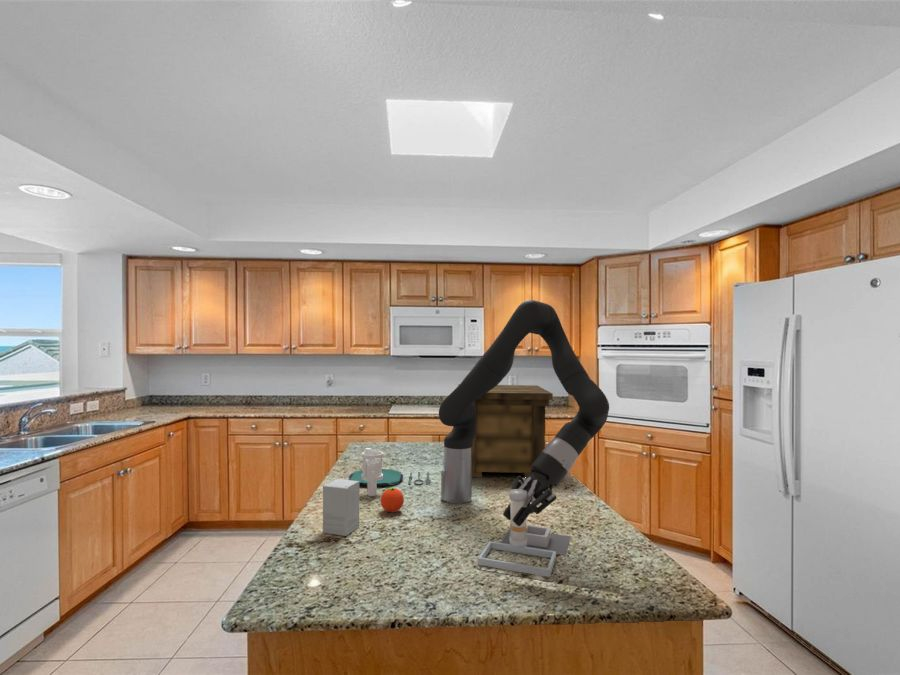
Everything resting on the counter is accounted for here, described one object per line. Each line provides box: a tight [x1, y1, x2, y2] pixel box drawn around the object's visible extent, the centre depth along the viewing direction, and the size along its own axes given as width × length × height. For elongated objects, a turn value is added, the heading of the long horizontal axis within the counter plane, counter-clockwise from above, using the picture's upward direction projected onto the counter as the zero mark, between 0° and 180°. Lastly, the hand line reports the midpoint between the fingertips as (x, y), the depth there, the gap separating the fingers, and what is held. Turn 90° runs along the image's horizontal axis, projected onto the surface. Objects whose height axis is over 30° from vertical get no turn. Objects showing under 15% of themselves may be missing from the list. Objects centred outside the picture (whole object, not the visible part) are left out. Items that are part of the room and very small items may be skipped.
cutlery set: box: [348, 468, 432, 486], centre depth 179 cm, size 20×30×2 cm, turn 93°
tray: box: [477, 541, 557, 583], centre depth 111 cm, size 16×10×3 cm, turn 70°
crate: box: [457, 383, 554, 478], centre depth 197 cm, size 35×35×33 cm
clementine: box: [380, 487, 405, 513], centre depth 146 cm, size 8×7×7 cm
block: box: [500, 524, 572, 556], centre depth 122 cm, size 16×12×4 cm
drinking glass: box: [361, 447, 384, 497], centre depth 162 cm, size 7×7×15 cm
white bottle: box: [509, 488, 527, 548], centre depth 111 cm, size 4×4×12 cm
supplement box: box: [322, 478, 360, 537], centre depth 131 cm, size 7×7×13 cm
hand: (511, 520), depth 110 cm, fingers closed on white bottle, 3 cm apart
